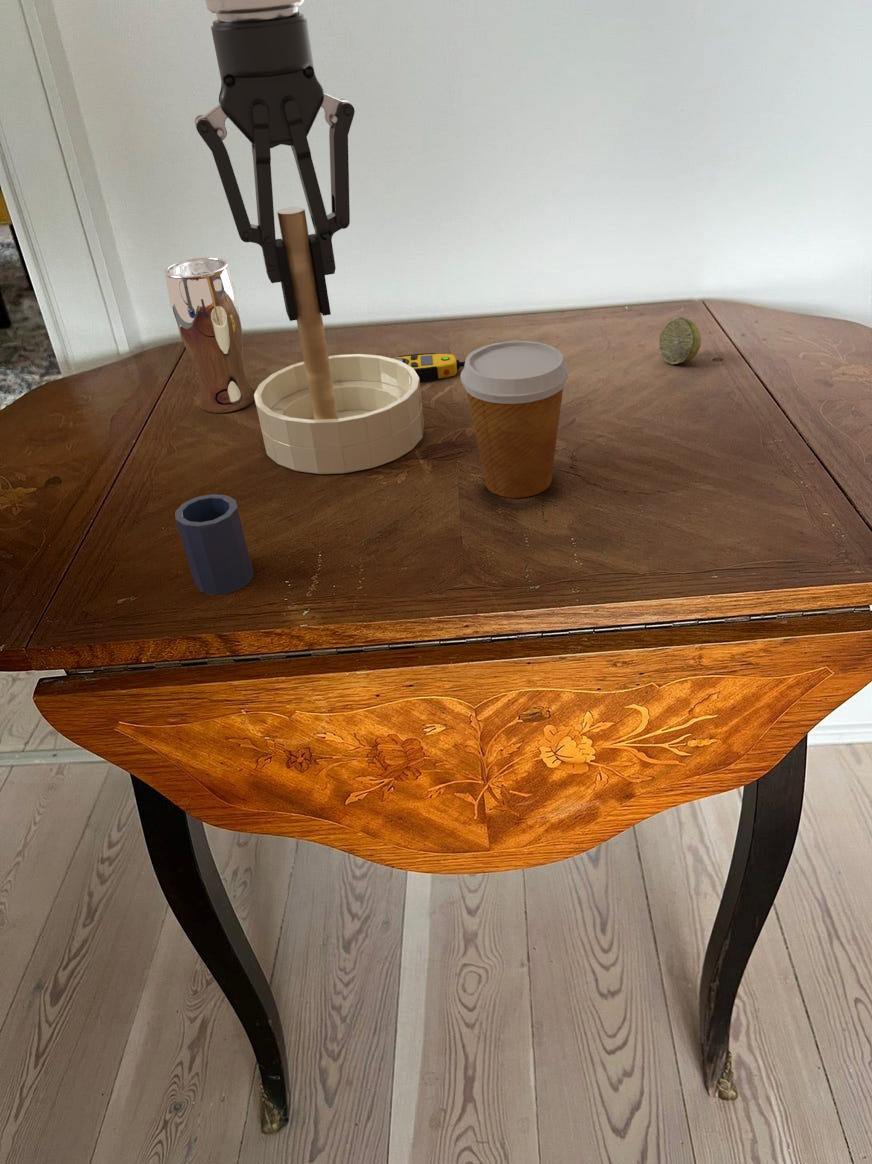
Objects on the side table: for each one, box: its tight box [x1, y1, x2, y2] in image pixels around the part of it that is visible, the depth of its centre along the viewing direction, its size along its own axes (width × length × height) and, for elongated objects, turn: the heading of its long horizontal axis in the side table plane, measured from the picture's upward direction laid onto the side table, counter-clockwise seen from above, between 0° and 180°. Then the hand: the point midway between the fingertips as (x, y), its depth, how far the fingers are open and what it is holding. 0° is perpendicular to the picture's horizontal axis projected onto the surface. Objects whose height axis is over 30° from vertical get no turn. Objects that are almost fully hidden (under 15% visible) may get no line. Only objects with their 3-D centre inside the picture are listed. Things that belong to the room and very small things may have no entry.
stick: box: [276, 206, 339, 420], centre depth 89 cm, size 2×2×20 cm
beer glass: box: [163, 256, 255, 414], centre depth 104 cm, size 7×7×15 cm
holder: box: [174, 493, 255, 595], centre depth 77 cm, size 5×5×7 cm
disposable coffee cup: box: [460, 340, 570, 499], centre depth 86 cm, size 10×10×12 cm
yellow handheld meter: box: [392, 352, 465, 383], centre depth 111 cm, size 5×2×15 cm
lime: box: [658, 316, 702, 365], centre depth 108 cm, size 4×5×5 cm
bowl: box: [253, 353, 425, 475], centre depth 97 cm, size 16×16×6 cm
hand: (308, 312), depth 89 cm, fingers closed on stick, 2 cm apart
